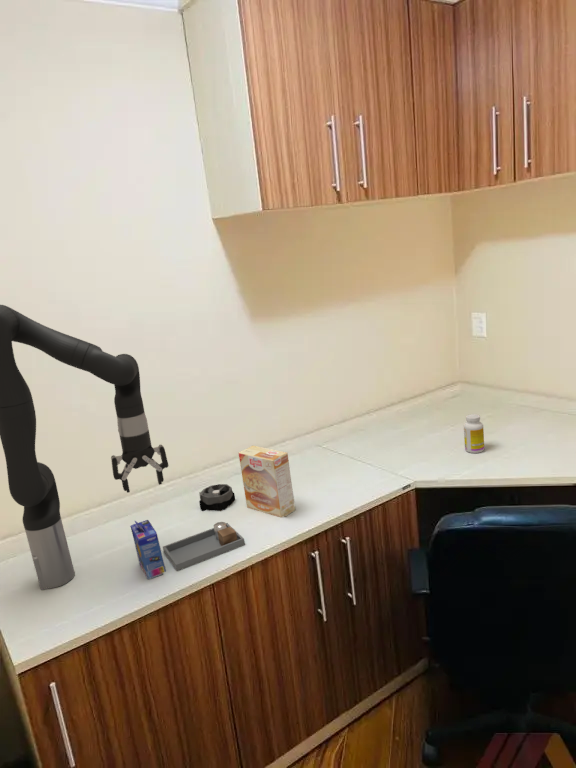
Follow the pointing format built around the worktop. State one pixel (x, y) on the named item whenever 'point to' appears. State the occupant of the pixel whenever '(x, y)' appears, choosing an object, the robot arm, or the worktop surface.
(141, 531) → the ink cartridge box
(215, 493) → the cpu cooler
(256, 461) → the coffeecake box
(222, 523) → the metal ball part
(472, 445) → the supplement bottle
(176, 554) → the parts tray
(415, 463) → the worktop surface
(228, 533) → the walnut block part
